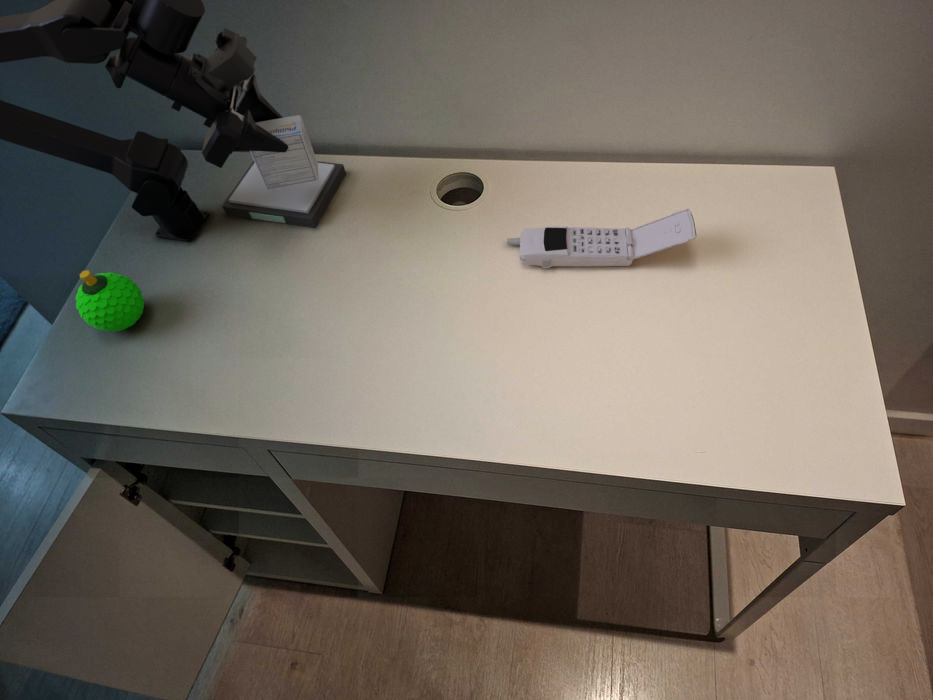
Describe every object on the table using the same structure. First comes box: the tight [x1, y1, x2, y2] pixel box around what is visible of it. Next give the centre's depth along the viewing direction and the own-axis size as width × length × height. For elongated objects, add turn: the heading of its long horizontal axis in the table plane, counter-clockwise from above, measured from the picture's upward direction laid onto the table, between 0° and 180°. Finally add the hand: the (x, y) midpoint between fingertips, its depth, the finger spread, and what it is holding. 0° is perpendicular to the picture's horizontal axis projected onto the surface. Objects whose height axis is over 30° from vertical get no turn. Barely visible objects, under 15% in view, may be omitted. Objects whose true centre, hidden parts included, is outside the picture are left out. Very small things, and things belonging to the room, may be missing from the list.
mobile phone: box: [506, 208, 697, 269], centre depth 82 cm, size 6×6×25 cm
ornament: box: [75, 269, 145, 333], centre depth 82 cm, size 8×8×10 cm
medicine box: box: [249, 114, 319, 190], centre depth 86 cm, size 8×4×9 cm, turn 100°
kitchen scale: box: [221, 160, 347, 229], centre depth 97 cm, size 16×13×3 cm
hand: (288, 138), depth 85 cm, fingers closed on medicine box, 4 cm apart
